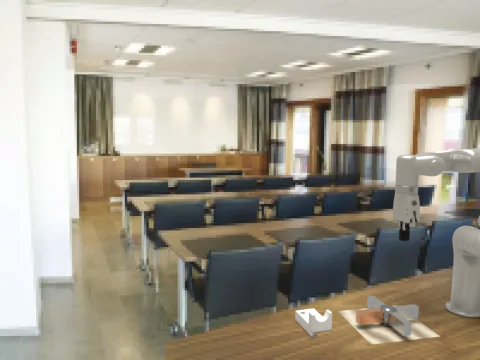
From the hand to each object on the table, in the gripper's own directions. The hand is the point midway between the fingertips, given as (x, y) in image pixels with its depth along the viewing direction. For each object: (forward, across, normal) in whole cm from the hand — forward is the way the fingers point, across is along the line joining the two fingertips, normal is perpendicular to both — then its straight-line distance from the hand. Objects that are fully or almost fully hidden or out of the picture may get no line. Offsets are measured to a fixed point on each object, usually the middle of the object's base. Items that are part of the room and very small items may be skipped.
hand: (404, 240), depth 153 cm
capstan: (+25, -11, +12) cm, 30 cm away
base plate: (+27, -10, +12) cm, 31 cm away
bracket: (+27, -4, +36) cm, 45 cm away
